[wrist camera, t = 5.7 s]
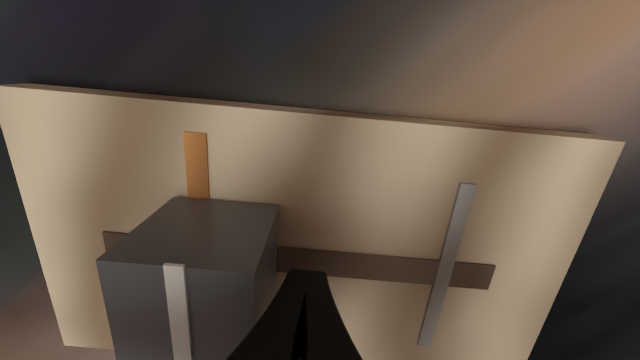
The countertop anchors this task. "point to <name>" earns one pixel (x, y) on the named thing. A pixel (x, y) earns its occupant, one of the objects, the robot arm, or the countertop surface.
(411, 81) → the countertop surface
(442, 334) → the fader board
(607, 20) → the countertop surface
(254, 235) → the fader knob
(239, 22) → the countertop surface
